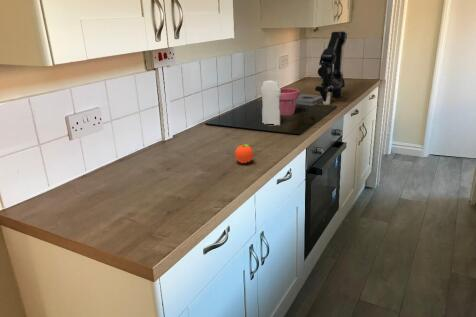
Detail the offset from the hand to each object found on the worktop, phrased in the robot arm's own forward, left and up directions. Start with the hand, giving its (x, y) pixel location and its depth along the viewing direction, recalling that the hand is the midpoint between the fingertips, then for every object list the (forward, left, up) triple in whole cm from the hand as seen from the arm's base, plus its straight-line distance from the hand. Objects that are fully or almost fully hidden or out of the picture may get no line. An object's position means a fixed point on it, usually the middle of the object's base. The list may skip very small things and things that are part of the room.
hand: (326, 100), depth 237 cm
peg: (0, 0, -2) cm, 2 cm away
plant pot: (+31, -9, -2) cm, 32 cm away
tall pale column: (+53, -4, -2) cm, 53 cm away
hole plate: (0, -13, -2) cm, 13 cm away
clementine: (+102, +17, -2) cm, 103 cm away
